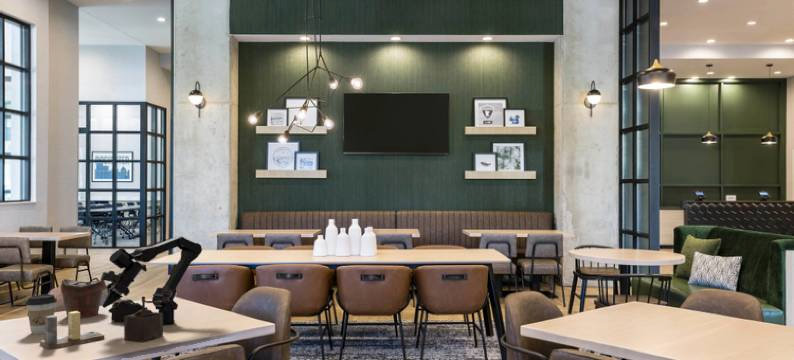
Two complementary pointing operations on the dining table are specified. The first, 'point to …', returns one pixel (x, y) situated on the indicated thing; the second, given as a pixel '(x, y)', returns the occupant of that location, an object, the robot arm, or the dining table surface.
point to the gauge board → (54, 342)
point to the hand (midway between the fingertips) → (103, 307)
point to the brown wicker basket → (82, 296)
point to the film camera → (124, 310)
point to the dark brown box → (145, 322)
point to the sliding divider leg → (74, 325)
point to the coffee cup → (40, 311)
